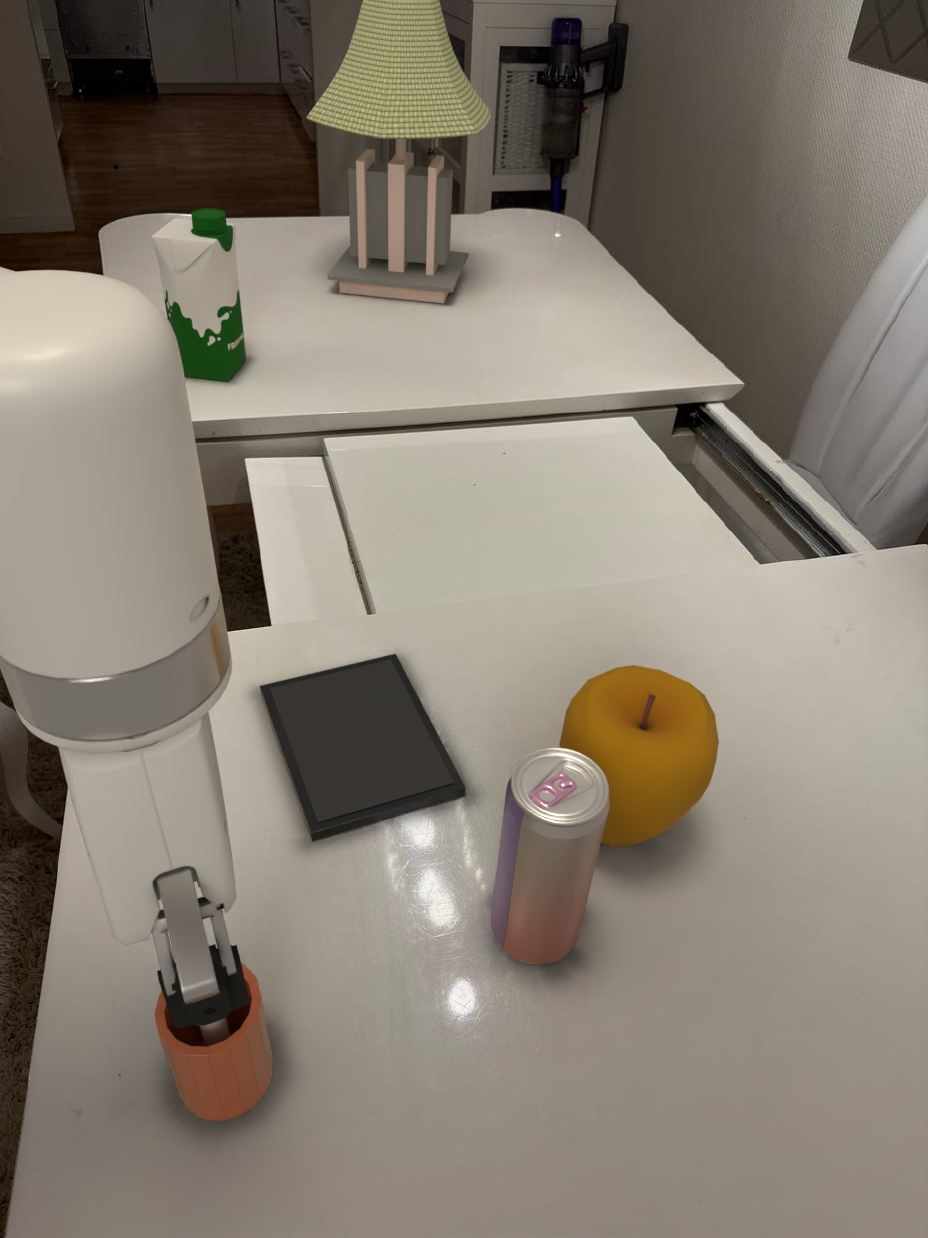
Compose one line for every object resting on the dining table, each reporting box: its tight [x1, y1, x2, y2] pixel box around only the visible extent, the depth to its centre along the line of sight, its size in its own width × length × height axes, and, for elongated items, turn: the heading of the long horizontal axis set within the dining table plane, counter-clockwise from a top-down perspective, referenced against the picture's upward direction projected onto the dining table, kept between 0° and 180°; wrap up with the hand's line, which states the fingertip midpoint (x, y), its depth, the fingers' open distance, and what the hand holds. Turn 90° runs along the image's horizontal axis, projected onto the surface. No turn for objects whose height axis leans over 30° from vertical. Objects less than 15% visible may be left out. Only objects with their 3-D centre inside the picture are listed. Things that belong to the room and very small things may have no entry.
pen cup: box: [154, 963, 274, 1122], centre depth 51 cm, size 5×5×8 cm
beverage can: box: [490, 746, 610, 965], centre depth 57 cm, size 6×6×15 cm
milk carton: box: [150, 207, 247, 382], centre depth 118 cm, size 9×9×20 cm
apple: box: [559, 664, 720, 849], centre depth 65 cm, size 11×11×13 cm
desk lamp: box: [305, 0, 492, 304], centre depth 139 cm, size 26×28×40 cm
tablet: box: [259, 653, 467, 842], centre depth 74 cm, size 12×16×1 cm
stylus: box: [200, 943, 230, 1047], centre depth 49 cm, size 1×1×13 cm
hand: (191, 918), depth 44 cm, fingers open, 9 cm apart
